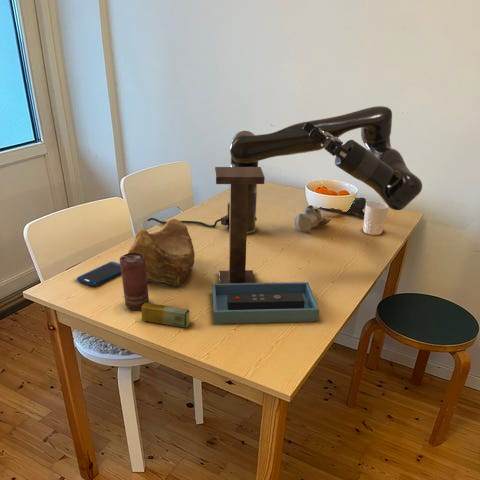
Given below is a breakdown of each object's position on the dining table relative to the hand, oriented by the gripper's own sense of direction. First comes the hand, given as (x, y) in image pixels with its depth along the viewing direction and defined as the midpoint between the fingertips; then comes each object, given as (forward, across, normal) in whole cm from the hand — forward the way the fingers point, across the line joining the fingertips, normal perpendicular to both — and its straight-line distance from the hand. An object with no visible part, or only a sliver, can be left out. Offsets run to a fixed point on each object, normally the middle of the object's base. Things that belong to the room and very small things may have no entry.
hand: (307, 128), depth 122 cm
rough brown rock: (+11, +1, +55) cm, 56 cm away
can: (+18, +16, +59) cm, 64 cm away
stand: (-6, +5, +45) cm, 45 cm away
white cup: (-50, -32, +19) cm, 63 cm away
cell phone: (+28, -1, +64) cm, 70 cm away
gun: (-44, -52, +23) cm, 72 cm away
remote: (-11, +19, +41) cm, 47 cm away
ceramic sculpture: (-31, -37, +30) cm, 57 cm away
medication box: (+11, +25, +55) cm, 61 cm away
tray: (-11, +19, +42) cm, 47 cm away
